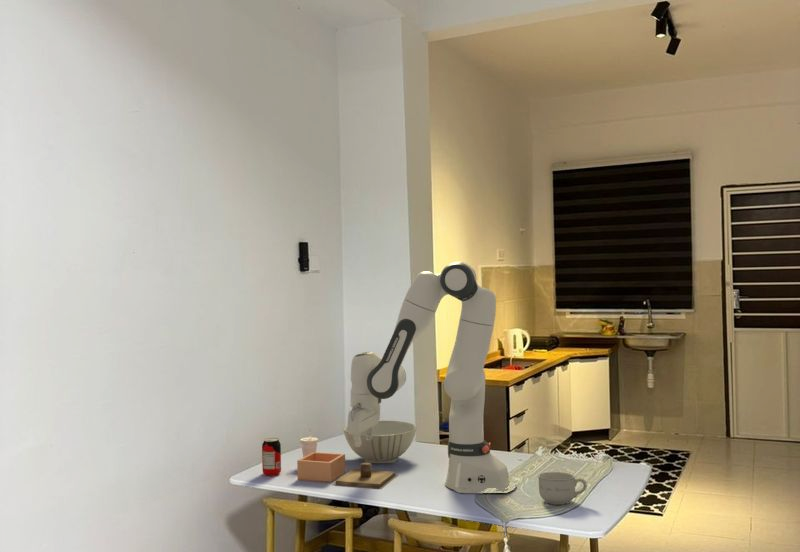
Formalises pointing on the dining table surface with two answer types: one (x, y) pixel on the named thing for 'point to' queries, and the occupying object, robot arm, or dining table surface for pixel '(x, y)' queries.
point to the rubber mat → (370, 487)
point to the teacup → (559, 487)
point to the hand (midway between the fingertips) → (363, 443)
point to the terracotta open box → (321, 467)
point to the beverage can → (271, 456)
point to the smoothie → (308, 444)
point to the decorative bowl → (384, 441)
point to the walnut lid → (365, 477)
